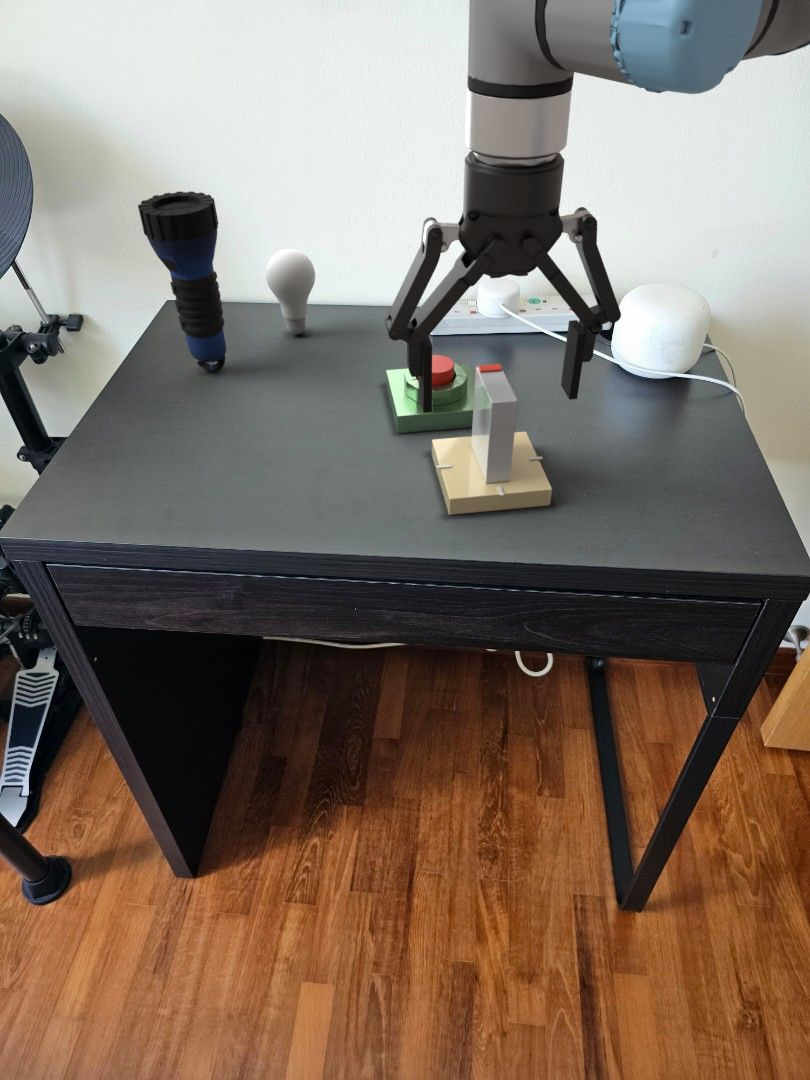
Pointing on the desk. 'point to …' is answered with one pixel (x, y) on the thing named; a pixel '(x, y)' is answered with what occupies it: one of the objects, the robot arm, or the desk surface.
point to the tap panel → (468, 484)
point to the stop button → (442, 370)
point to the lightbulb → (291, 285)
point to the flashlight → (190, 267)
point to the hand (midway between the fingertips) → (497, 398)
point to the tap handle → (493, 423)
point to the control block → (447, 401)
